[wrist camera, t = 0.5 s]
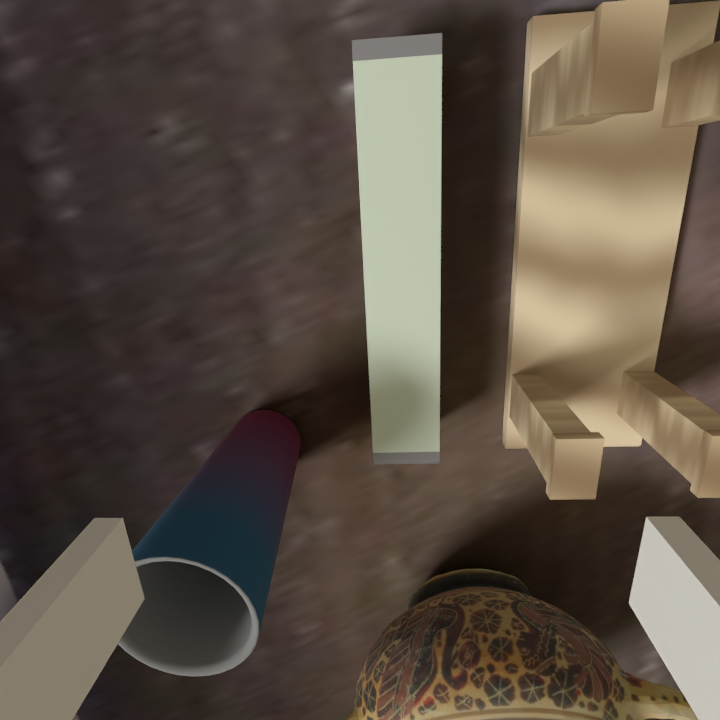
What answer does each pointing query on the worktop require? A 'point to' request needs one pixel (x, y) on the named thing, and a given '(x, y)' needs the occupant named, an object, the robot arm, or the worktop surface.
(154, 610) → the cup
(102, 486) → the worktop surface
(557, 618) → the ceramic bowl
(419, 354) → the rail
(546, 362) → the bar on post stand
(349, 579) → the worktop surface
